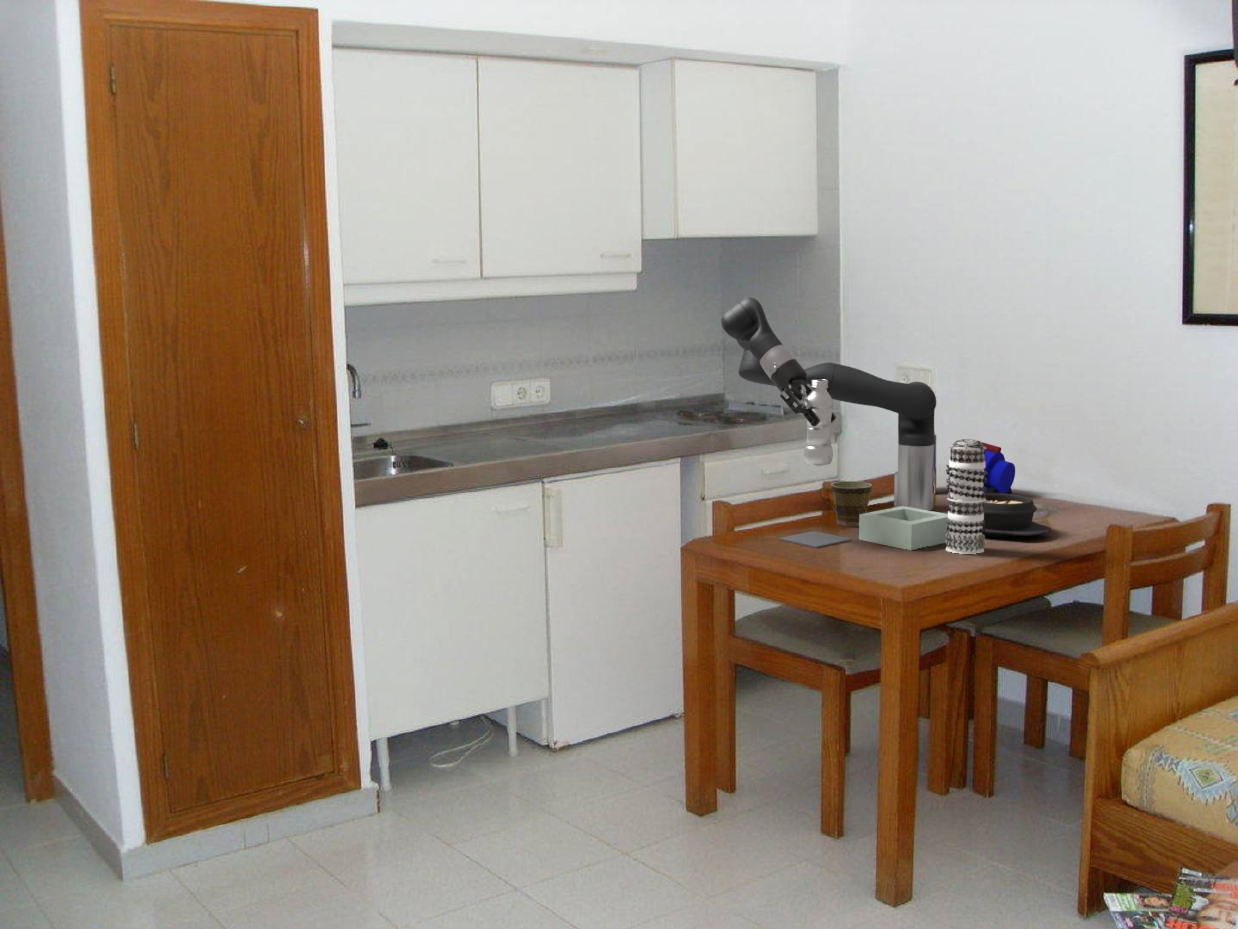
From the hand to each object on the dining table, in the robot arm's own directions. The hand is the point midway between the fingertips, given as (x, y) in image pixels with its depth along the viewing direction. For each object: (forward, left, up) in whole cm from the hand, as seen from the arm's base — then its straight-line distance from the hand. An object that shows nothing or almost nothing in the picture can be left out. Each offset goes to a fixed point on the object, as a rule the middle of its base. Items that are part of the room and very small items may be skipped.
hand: (824, 422), depth 300 cm
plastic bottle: (-2, 0, -11) cm, 11 cm away
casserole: (+21, +38, -28) cm, 52 cm away
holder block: (+12, +15, -28) cm, 34 cm away
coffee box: (-26, +66, -28) cm, 77 cm away
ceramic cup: (-10, +18, -28) cm, 35 cm away
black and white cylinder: (+27, +17, -28) cm, 43 cm away
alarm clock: (-10, +77, -28) cm, 82 cm away
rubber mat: (-2, -1, -28) cm, 28 cm away
